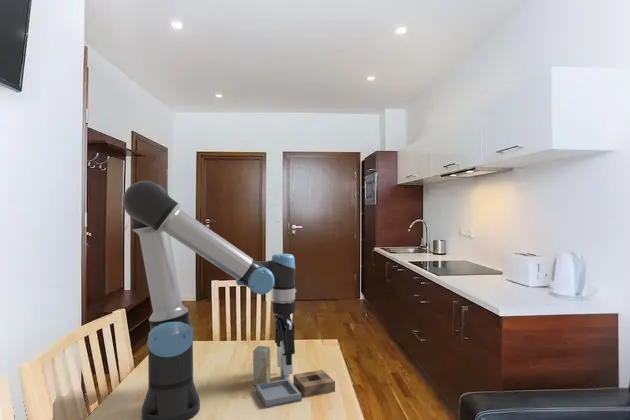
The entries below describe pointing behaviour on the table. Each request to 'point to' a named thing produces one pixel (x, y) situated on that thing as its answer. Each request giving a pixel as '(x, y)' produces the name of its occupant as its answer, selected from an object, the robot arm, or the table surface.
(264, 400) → the tray
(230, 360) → the table surface
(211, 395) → the table surface
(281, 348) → the pin
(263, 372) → the box
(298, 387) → the brown block with hole
